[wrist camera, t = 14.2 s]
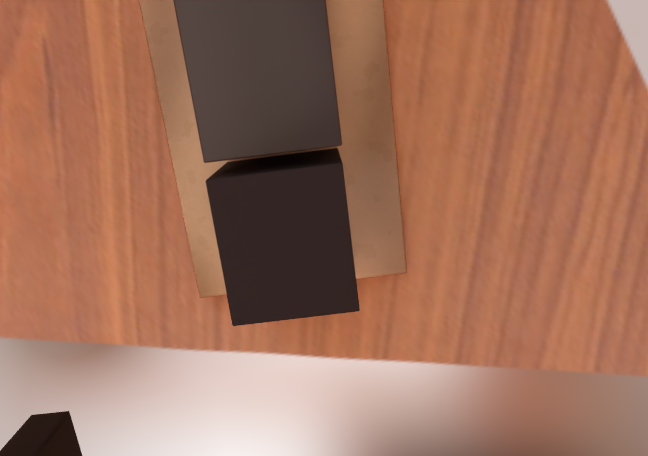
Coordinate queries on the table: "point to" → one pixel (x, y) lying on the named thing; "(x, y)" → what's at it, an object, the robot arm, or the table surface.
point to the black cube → (284, 236)
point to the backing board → (355, 135)
